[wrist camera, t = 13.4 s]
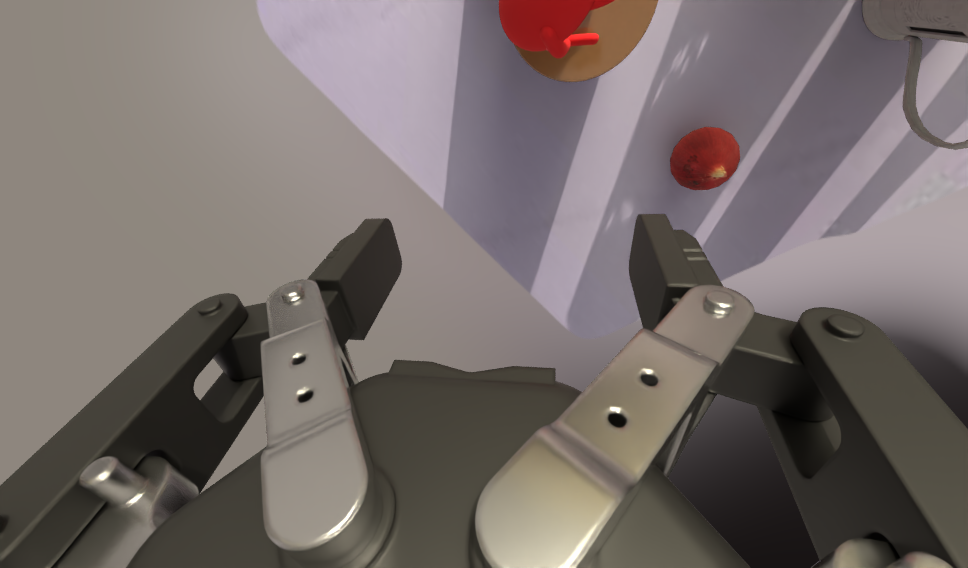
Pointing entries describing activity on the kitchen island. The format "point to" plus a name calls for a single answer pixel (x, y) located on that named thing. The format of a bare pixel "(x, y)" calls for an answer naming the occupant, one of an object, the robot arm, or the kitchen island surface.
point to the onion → (705, 158)
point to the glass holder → (918, 41)
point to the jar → (617, 39)
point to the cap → (547, 23)
